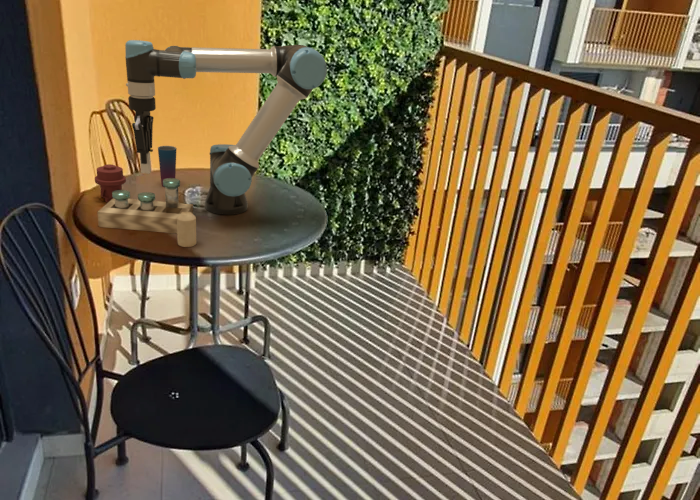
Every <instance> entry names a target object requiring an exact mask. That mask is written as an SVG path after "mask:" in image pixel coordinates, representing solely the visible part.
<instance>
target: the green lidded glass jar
mask: <svg viewBox="0 0 700 500" xmlns="http://www.w3.org/2000/svg"><path fill="white" fill-rule="evenodd" d="M137 199H138V200H139V201H140V206H141V211H152V212H153V211H154V202H153V201H156V194H155V193H153V192H149V191H148V192H147V191H144V192H139V193H138V194H137Z"/></svg>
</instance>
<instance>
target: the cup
mask: <svg viewBox="0 0 700 500" xmlns="http://www.w3.org/2000/svg"><path fill="white" fill-rule="evenodd" d="M177 150H178V149H177V147H176V146H173V145H160V146H158V147H157V151H158V152H157V153H158V164H159V173H160V182H161V187H163V188H165V187H164V186H163V180H164V179H167V178H175V179H176V174H177V173H176V172H177V170H176V168H177Z"/></svg>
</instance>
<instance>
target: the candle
mask: <svg viewBox="0 0 700 500" xmlns="http://www.w3.org/2000/svg"><path fill="white" fill-rule="evenodd" d="M176 236H177V245H178V246H180V247H183V248H190V247H194V246H196V244H197V216H196V215H194V213H193V214H192V213H191V212H182V213H181V214H180V215H179V216H178V217H177V233H176Z"/></svg>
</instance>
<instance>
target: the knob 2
mask: <svg viewBox="0 0 700 500" xmlns="http://www.w3.org/2000/svg"><path fill="white" fill-rule="evenodd" d="M163 186H164V187H163ZM163 186H162V187H163V188H164V195H165V196H164V198H165V201H164V202H166V207H168V208H176V207H178V206H179V203H180V202H179V200H180V199H179V188H180V186H181V181H180V179H178V178H176V177H175V178H167V179H164V180H163Z"/></svg>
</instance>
